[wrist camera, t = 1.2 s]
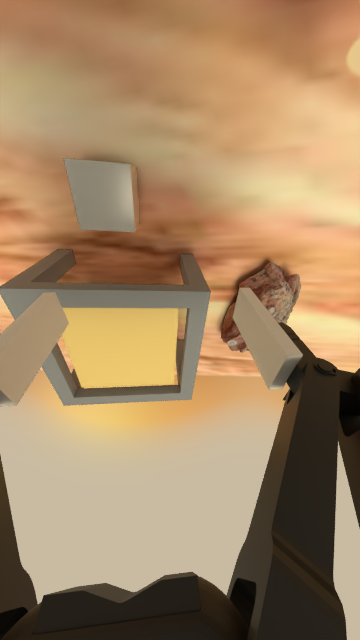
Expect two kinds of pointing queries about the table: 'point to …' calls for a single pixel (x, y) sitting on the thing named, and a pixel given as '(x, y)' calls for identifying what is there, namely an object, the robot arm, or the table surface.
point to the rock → (264, 301)
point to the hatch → (122, 345)
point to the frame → (106, 295)
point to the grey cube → (104, 194)
